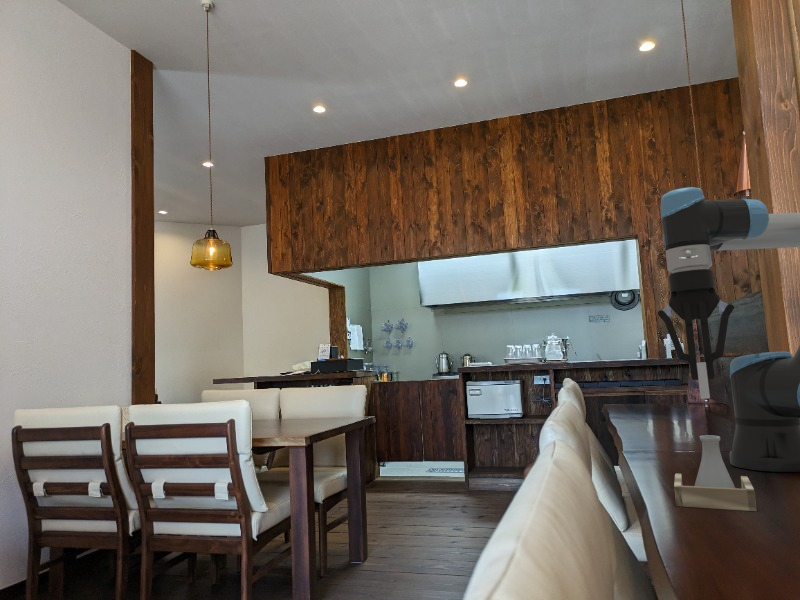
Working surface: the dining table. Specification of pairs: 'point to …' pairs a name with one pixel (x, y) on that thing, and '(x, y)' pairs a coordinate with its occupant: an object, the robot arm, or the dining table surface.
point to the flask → (712, 465)
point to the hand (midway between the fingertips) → (705, 397)
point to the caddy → (715, 496)
